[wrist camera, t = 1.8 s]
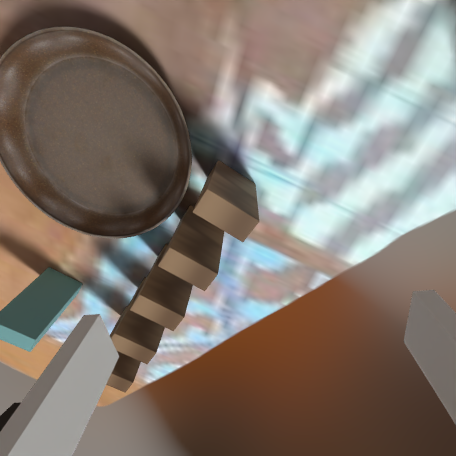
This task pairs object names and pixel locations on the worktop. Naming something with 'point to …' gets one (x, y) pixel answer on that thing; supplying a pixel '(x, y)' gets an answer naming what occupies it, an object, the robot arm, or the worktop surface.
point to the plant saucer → (91, 133)
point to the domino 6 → (229, 202)
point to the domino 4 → (137, 334)
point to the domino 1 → (37, 308)
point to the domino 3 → (163, 296)
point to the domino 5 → (123, 368)
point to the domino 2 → (194, 250)
